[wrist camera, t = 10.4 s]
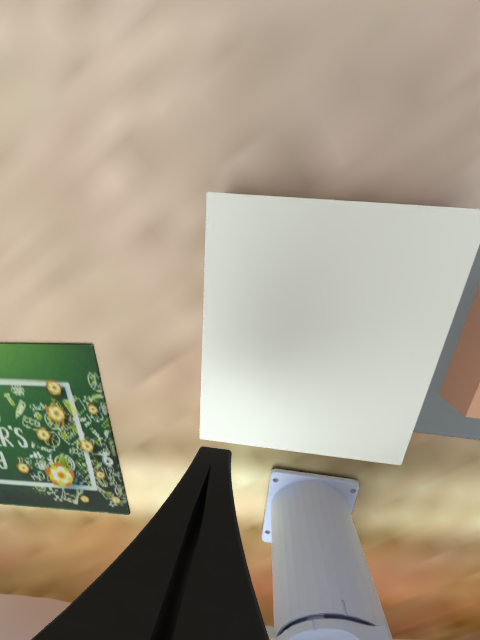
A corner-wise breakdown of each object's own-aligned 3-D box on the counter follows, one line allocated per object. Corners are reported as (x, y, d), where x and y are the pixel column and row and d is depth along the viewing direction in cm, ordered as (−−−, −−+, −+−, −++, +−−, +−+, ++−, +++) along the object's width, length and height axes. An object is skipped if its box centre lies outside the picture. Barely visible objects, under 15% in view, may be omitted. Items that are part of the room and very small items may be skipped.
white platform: (374, 423, 20) (400, 465, 16) (211, 404, 21) (199, 438, 17) (433, 220, 15) (491, 209, 11) (220, 205, 16) (206, 192, 12)
